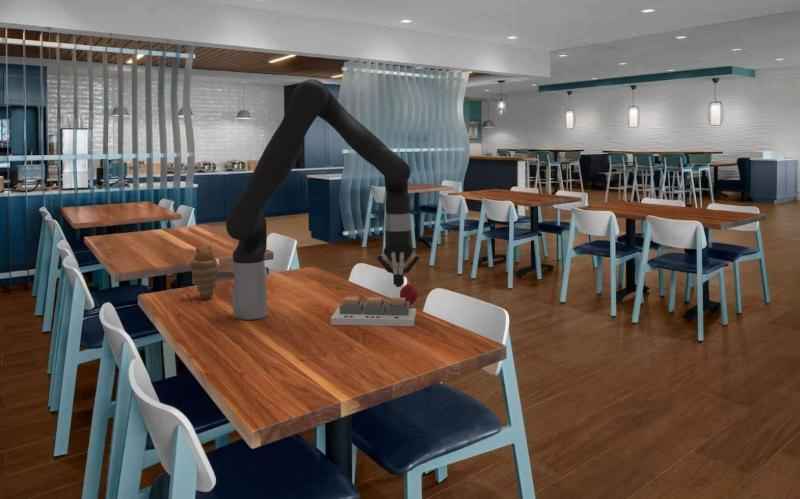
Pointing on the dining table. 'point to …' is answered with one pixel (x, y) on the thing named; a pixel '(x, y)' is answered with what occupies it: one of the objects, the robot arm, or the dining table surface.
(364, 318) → the button panel
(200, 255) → the cat ice cream
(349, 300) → the button two
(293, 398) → the dining table surface
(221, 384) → the dining table surface
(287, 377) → the dining table surface
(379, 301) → the button three
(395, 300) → the button one
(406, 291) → the onion
